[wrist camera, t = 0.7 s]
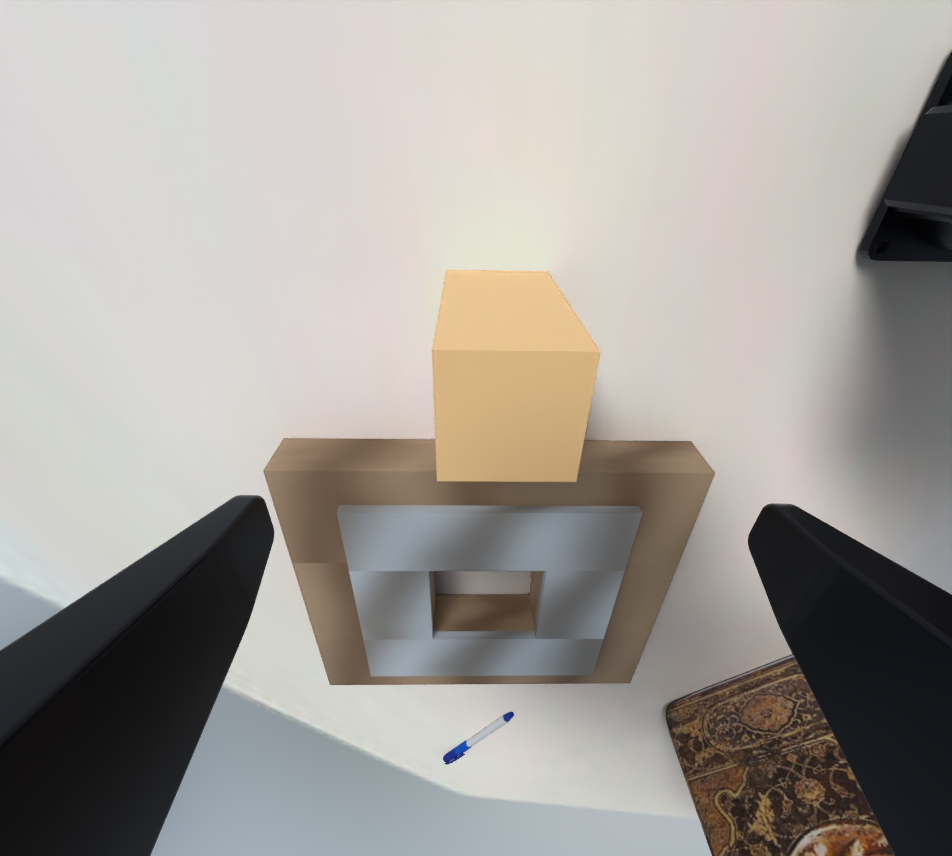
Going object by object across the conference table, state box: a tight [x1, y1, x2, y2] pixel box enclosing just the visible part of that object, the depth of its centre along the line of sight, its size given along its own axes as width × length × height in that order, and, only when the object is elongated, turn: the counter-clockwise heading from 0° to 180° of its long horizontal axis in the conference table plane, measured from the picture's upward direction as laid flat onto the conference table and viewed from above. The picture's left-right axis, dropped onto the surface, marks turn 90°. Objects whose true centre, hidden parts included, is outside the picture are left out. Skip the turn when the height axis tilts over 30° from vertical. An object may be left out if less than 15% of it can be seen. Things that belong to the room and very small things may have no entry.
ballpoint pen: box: [443, 712, 514, 764], centre depth 38 cm, size 10×1×1 cm, turn 147°
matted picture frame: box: [263, 438, 715, 685], centre depth 25 cm, size 20×18×3 cm
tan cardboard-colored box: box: [432, 270, 600, 482], centre depth 15 cm, size 4×4×8 cm
